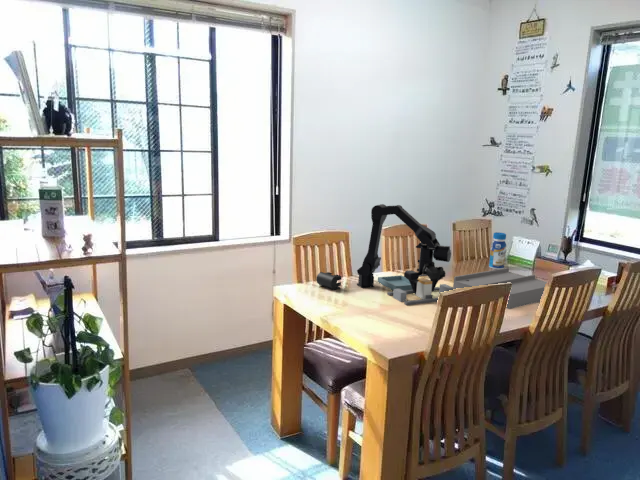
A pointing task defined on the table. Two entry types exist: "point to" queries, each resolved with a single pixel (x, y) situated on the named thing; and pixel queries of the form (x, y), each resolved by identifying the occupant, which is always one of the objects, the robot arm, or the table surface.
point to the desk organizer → (522, 286)
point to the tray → (395, 282)
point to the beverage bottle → (498, 251)
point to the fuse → (423, 287)
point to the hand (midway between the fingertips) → (423, 292)
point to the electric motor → (328, 280)
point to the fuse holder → (402, 294)
